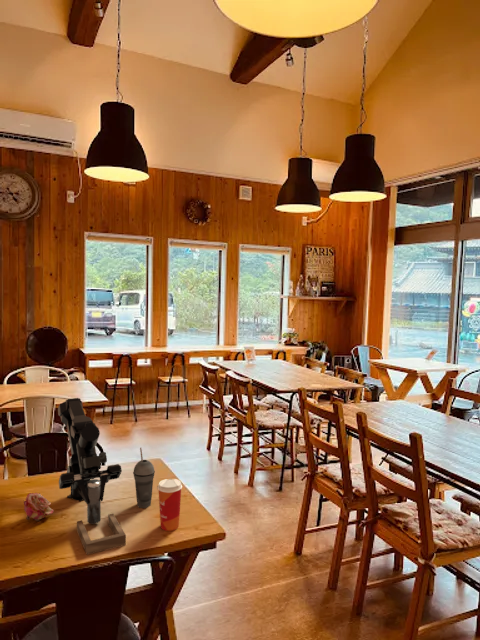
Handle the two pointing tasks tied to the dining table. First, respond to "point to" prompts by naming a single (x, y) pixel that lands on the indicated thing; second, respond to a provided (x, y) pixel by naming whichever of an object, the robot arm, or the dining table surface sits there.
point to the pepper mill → (94, 501)
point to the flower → (36, 506)
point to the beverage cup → (143, 482)
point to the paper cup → (169, 503)
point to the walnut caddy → (105, 542)
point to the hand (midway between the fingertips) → (94, 502)
